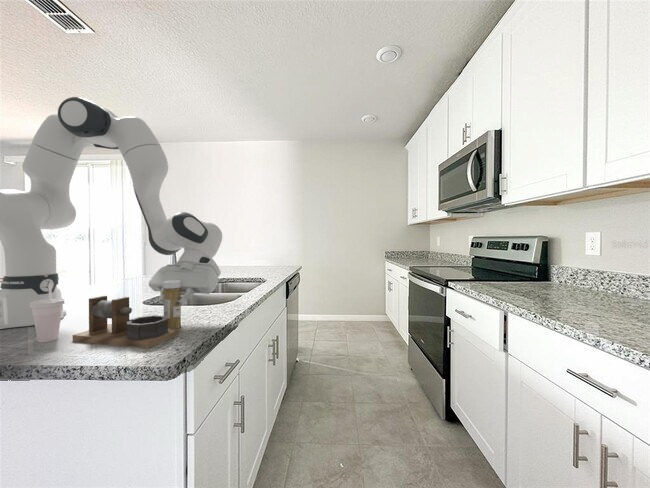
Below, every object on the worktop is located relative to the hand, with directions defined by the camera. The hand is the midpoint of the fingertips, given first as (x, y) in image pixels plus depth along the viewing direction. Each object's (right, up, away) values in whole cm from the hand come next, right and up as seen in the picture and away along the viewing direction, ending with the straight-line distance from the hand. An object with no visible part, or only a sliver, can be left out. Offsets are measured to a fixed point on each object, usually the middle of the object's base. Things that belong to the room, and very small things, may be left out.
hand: (170, 303), depth 85 cm
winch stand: (-7, -7, -8) cm, 13 cm away
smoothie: (-26, -7, -10) cm, 28 cm away
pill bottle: (0, -7, +1) cm, 7 cm away
